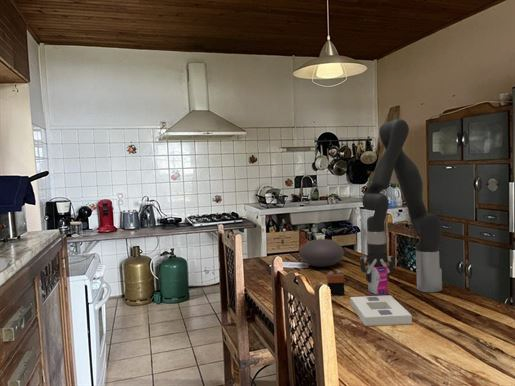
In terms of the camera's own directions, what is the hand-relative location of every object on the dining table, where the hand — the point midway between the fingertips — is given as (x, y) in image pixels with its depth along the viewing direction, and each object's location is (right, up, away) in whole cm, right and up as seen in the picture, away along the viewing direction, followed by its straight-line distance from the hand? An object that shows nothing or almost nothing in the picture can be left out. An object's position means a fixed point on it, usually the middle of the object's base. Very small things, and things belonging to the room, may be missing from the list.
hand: (377, 281), depth 163 cm
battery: (-16, -8, +8) cm, 19 cm away
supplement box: (0, -5, 0) cm, 5 cm away
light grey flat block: (-5, -8, -17) cm, 19 cm away
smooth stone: (-13, -5, +60) cm, 62 cm away
